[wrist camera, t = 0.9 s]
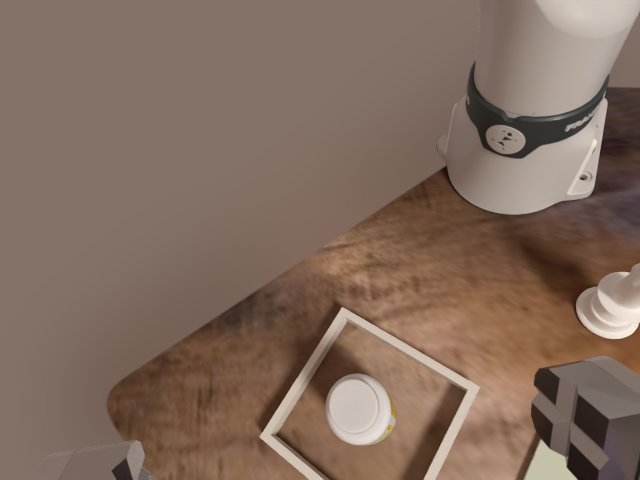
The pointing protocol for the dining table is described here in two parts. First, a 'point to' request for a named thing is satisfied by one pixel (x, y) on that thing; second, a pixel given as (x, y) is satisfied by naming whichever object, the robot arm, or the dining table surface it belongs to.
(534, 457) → the mat
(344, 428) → the supplement bottle
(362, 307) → the dining table surface
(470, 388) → the white square frame
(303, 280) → the dining table surface
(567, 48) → the robot arm
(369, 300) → the dining table surface
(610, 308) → the candle
